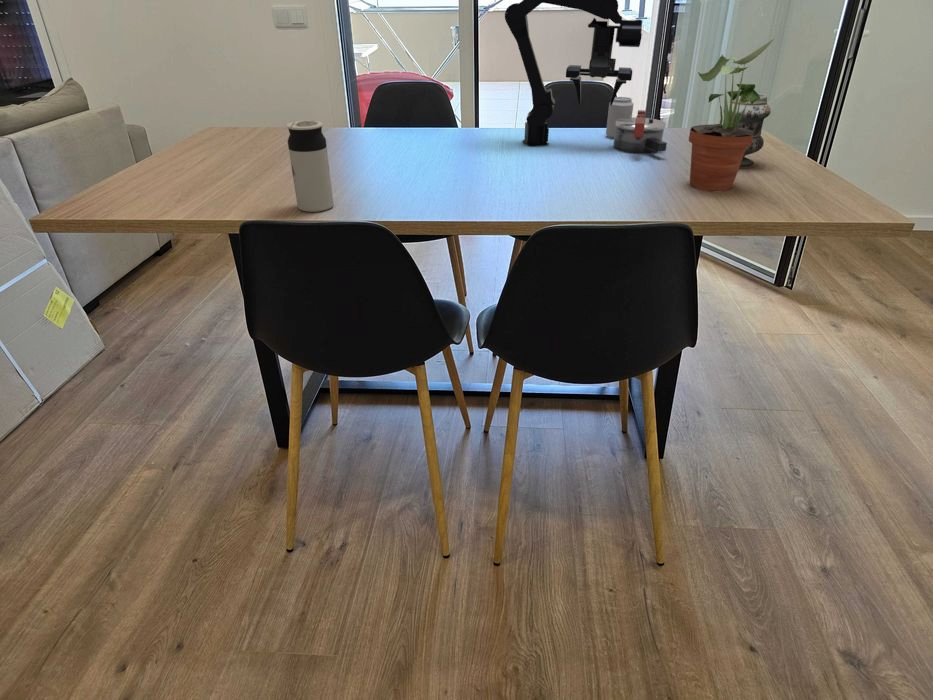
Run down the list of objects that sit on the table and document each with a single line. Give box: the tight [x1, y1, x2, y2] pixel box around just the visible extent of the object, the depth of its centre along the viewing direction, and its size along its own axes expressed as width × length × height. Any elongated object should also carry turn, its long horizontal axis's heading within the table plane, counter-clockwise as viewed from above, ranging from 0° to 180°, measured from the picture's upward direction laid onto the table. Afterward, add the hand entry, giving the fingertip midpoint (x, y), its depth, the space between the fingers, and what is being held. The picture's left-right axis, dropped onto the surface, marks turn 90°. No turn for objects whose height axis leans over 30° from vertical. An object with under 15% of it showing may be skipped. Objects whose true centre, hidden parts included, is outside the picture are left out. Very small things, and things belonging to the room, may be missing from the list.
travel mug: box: [286, 119, 334, 213], centre depth 131 cm, size 8×8×18 cm
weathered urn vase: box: [722, 92, 772, 169], centre depth 163 cm, size 12×12×18 cm
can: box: [605, 96, 634, 140], centre depth 192 cm, size 8×8×12 cm
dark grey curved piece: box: [613, 127, 668, 155], centre depth 179 cm, size 14×24×6 cm, turn 14°
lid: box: [615, 109, 666, 138], centre depth 176 cm, size 14×25×4 cm, turn 164°
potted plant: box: [688, 38, 775, 192], centre depth 141 cm, size 16×15×35 cm
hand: (595, 104), depth 179 cm, fingers open, 9 cm apart
